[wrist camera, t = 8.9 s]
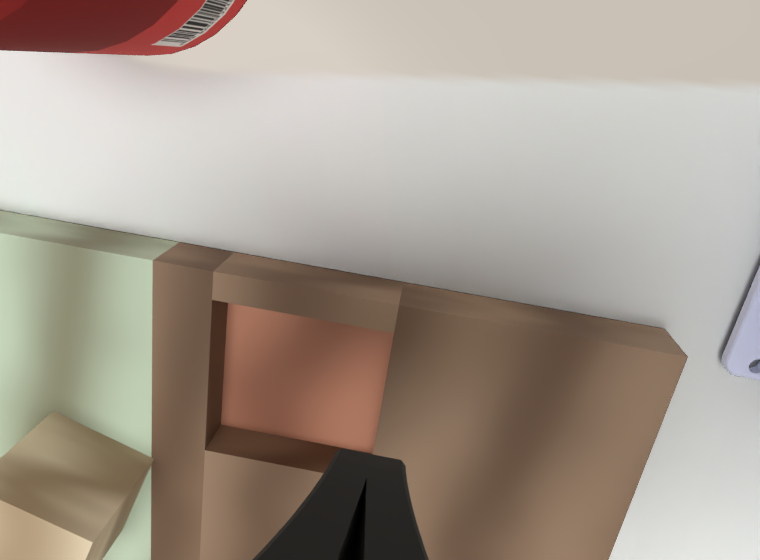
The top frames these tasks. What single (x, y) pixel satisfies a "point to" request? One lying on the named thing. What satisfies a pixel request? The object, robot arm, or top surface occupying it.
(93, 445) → the maple block
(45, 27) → the canned food
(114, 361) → the trap deck
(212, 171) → the top surface
